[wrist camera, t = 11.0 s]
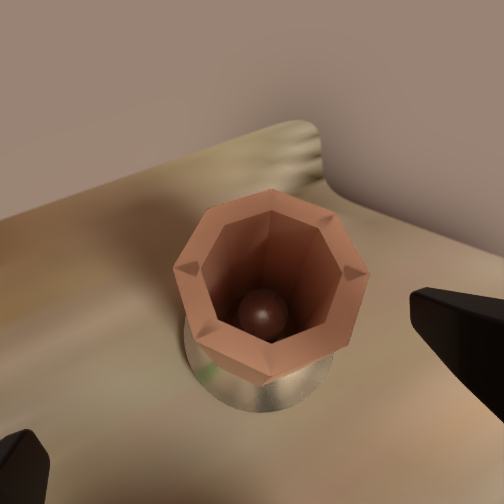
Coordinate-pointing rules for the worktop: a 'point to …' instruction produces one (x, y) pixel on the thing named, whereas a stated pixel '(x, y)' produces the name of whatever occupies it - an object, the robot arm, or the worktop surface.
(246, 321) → the silver pot lid
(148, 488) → the worktop surface
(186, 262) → the terracotta pot
